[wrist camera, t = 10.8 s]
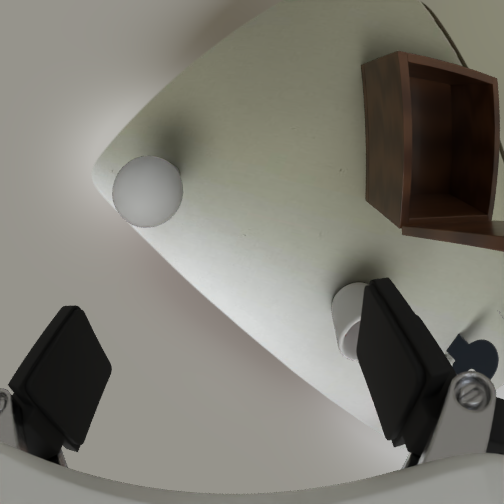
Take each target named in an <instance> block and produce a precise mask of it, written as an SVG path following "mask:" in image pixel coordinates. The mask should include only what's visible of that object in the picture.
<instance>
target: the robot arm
mask: <svg viewBox="0 0 504 504" xmlns="http://www.w3.org/2000/svg"><path fill="white" fill-rule="evenodd" d="M356 353H357V358H358V361H359V364H360V366H361V369H362V372H363V375H364V377H365V380H366V383H367V386H368V388H369V391H370V394H371V397H372V400H373V402H374V405H375V408H376V411H377V414H378V417H379V420H380V423H381V426H382V429H383V432H384V435H385V438H386V439H387V440H392V443H393V446H394V447H397V446H400V445H403V444H406V447H407V450H408V451H409V452H410V453H409V455H408V457H407V459H406V461H405V463H404V465H403V467H402V469H401V470H397V471H393V472H390V473H386V474H382V475H379V476H375V477H371V478H366V479H362V480H358V481H354V482H349V483H343V484H337V485H331V486H325V487H319V488H313V489H305V490H297V491H288V492H276V493H258V494H210V493H209V494H208V493H193V492H181V491H172V490H163V489H156V488H150V487H143V486H138V485H132V484H127V483H122V482H118V481H113V480H109V479H105V478H101V477H97V476H93V475H90V474H86V473H82V472H79V471H76V470H73V469H70V468H68V467H67V464H66V461H65V458H64V455H63V452H62V450H61V447H62V445H63V446H64V447H65V448H66V449H69V450H72V451H76V452H78V450H79V448H80V445H82V444H83V443H84V440H85V438H86V435H87V432H88V430H89V427H90V424H91V422H92V419H93V416H94V414H95V411H96V409H97V406H98V404H99V401H100V399H101V396H102V394H103V391H104V389H105V386H106V384H107V382H108V379H109V377H110V375H111V370H112V368H111V364H110V362H109V360H108V358H107V356H106V354H105V353H104V351H103V349H102V347H101V345H100V343H99V341H98V339H97V337H96V335H95V333H94V331H93V329H92V327H91V325H90V323H89V321H88V319H87V317H86V315H85V313H84V311H83V310H81V309H80V308H79V307H78V306H63V307H62V308H61V309H60V311H59V312H58V313H57V315H56V316H55V317H54V318H53V320H52V321H51V322H50V324H49V325H48V326H47V328H46V329H45V331H44V332H43V333H42V335H41V336H40V338H39V339H38V340H37V342H36V343H35V344H34V346H33V348H32V349H31V350H30V352H29V353H28V355H27V356H26V358H25V359H24V361H23V362H22V364H21V365H20V367H19V368H18V370H17V371H16V373H15V374H14V376H13V378H12V379H11V381H10V382H9V384H8V385H9V387H10V388H11V389H12V390H13V392H14V394H13V395H11V394H10V392H9V391H8V390H6V389H2V388H0V504H504V400H503V399H500V398H497V397H496V390H495V387H494V384H493V383H492V382H491V380H490V379H489V378H488V377H486V376H485V375H484V374H481V373H479V372H475V371H466V372H462V373H460V374H458V375H457V374H456V372H455V371H454V369H453V367H452V366H451V364H450V362H449V361H448V359H447V358H446V356H445V354H444V353H443V351H442V350H441V348H440V347H439V345H438V344H437V342H436V341H435V339H434V338H433V336H432V335H431V333H430V332H429V330H428V329H427V327H426V326H425V324H424V323H423V321H422V320H421V318H420V317H419V316H418V315H416V314H415V313H414V312H413V310H412V309H411V307H410V306H409V305H408V303H407V302H406V300H405V299H404V298H403V296H402V295H401V293H400V292H399V291H398V289H397V288H396V287H395V285H394V284H393V283H392V281H391V280H390V279H389V278H382V279H375V280H371V281H370V283H369V285H366V286H365V288H364V295H363V304H362V312H361V320H360V327H359V334H358V341H357V347H356Z"/></svg>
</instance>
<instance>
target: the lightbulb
mask: <svg viewBox="0 0 504 504" xmlns="http://www.w3.org/2000/svg"><path fill="white" fill-rule="evenodd" d="M112 195H113V202H114V205H115V207H116V209H117V211H118V213H119V214H120V215H121V217H122V218H123V219H125V220H126V221H127V222H129V223H130V224H132V225H135V226H137V227H143V228H147V227H155V226H159V225H161V224H163V223H165V222H166V221H168V220H169V219H170V218H172V216H173V215H174V214H175V213H176V212H177V210H178V208H179V206H180V204H181V201H182V196H183V185H182V180H181V177H180V172H179V170H178V168H177V167H176V166H174V165H172V164H171V163H169V162H168V161H166V160H165V159H162V158H159V157H156V156H141V157H138V158H135V159H133V160H131V161H130V162H128V163H127V164H126V165H125V166H123V167H122V169H121V170H120V171H119V173H118V174H117V176H116V179H115V181H114V185H113V192H112Z"/></svg>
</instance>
